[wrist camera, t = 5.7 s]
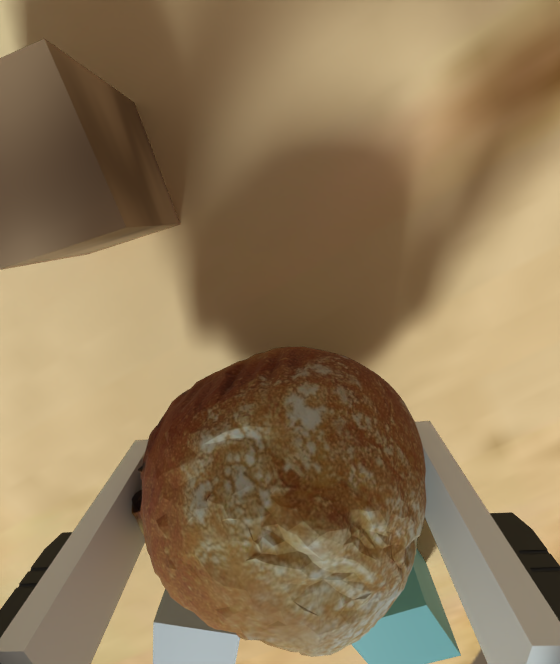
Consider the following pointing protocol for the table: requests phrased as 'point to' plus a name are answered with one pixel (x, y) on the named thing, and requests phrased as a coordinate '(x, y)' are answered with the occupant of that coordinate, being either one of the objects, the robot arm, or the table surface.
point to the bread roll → (285, 499)
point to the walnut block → (71, 162)
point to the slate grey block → (189, 638)
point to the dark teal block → (411, 625)
